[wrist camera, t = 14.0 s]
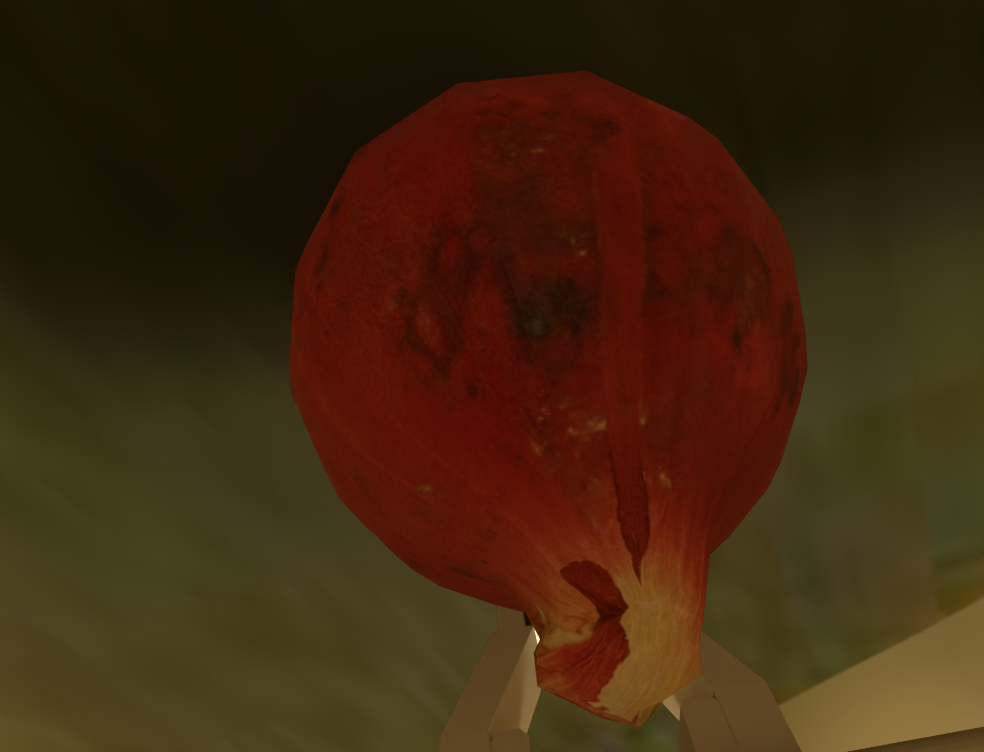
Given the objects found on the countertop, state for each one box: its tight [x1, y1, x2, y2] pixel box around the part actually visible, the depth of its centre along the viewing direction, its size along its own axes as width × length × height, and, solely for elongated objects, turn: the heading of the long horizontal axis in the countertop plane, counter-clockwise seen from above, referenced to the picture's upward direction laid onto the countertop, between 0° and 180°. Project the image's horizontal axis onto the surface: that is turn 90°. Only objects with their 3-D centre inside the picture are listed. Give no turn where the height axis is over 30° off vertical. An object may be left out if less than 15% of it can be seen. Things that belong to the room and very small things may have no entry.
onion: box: [290, 70, 807, 727], centre depth 7 cm, size 6×6×8 cm
